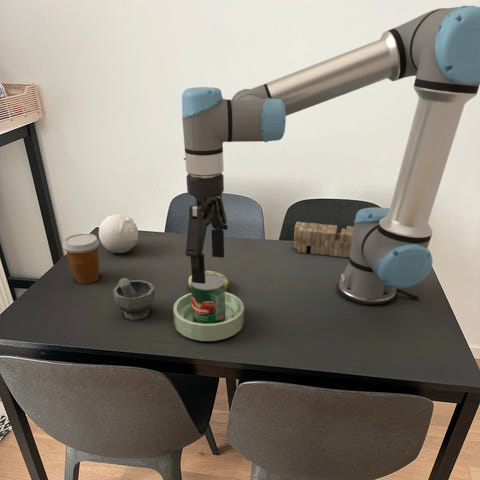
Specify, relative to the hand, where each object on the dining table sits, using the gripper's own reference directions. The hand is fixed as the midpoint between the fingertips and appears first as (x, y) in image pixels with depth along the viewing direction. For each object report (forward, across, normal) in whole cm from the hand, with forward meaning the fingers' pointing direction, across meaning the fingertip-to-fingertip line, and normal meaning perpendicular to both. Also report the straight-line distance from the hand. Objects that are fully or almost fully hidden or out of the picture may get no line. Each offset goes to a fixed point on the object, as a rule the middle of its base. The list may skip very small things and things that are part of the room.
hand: (209, 268), depth 105 cm
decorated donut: (+15, -17, -6) cm, 23 cm away
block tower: (+16, -53, +26) cm, 61 cm away
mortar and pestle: (+15, +1, -20) cm, 24 cm away
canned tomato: (+14, 0, -1) cm, 14 cm away
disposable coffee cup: (+14, -13, -42) cm, 46 cm away
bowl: (+15, 0, 0) cm, 15 cm away
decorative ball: (+15, -33, -42) cm, 55 cm away
